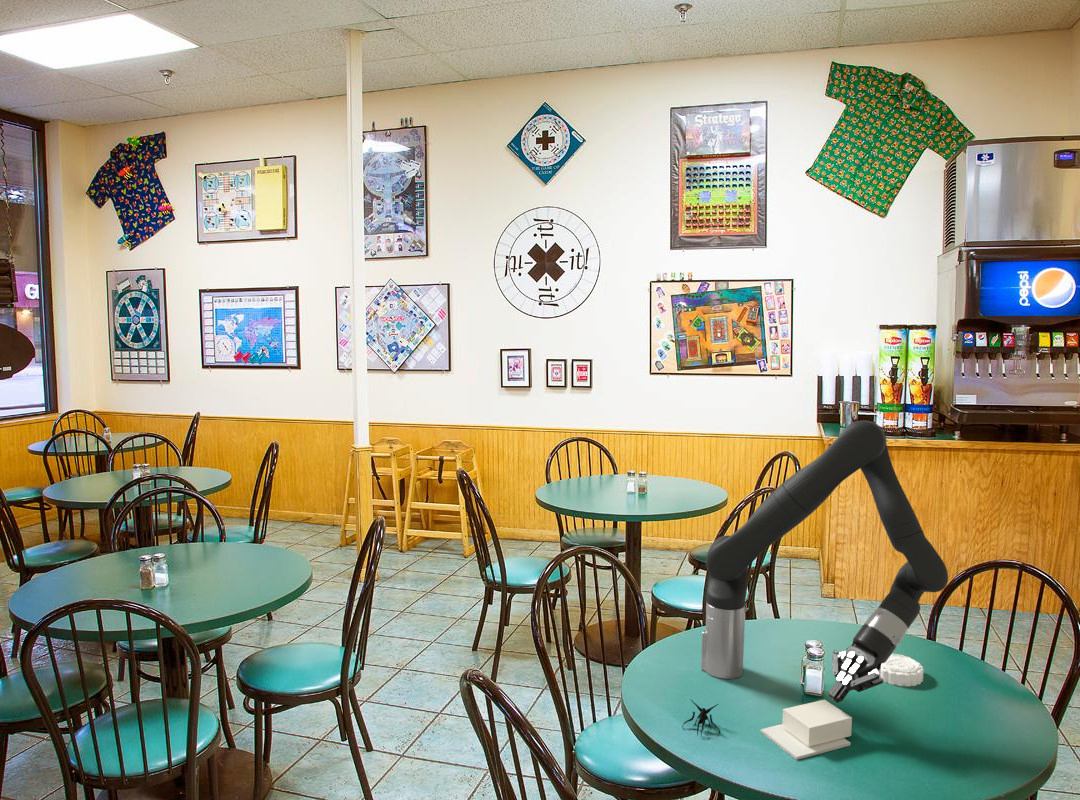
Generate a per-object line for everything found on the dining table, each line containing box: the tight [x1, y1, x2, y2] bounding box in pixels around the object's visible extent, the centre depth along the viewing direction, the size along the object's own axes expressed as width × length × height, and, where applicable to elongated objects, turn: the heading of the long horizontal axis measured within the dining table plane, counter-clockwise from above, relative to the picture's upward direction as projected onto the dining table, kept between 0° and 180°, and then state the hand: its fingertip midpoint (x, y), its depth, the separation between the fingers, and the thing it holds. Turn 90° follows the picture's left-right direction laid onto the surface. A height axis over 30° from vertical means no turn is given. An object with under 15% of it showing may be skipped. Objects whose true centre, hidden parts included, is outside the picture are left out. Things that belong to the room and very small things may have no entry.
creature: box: [681, 698, 721, 737], centre depth 164 cm, size 8×5×8 cm
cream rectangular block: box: [781, 699, 853, 747], centre depth 161 cm, size 8×4×11 cm
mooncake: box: [879, 653, 924, 687], centre depth 189 cm, size 12×12×4 cm
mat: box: [760, 723, 851, 761], centre depth 160 cm, size 11×14×1 cm
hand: (833, 699), depth 162 cm, fingers closed
